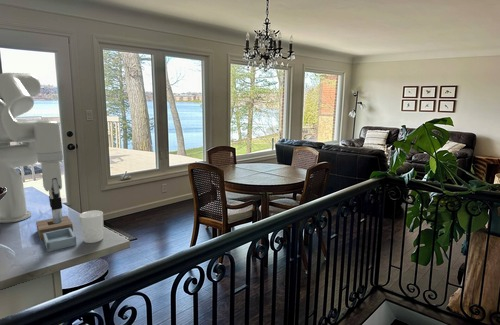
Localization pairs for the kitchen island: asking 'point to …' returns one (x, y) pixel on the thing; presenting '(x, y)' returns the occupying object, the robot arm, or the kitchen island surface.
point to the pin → (56, 214)
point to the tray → (59, 239)
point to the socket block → (52, 226)
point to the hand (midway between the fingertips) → (56, 207)
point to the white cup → (92, 226)
